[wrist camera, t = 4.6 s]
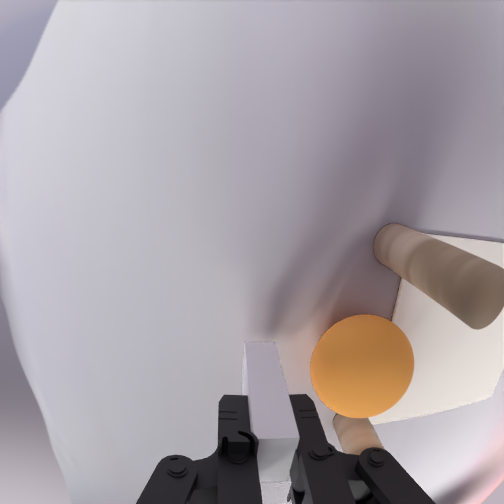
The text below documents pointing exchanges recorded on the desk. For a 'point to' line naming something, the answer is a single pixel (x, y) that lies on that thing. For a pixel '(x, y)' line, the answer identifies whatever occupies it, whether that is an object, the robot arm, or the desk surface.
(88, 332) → the desk surface
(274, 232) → the desk surface
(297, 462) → the robot arm
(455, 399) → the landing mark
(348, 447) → the post
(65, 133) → the desk surface
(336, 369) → the ball
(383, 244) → the post
